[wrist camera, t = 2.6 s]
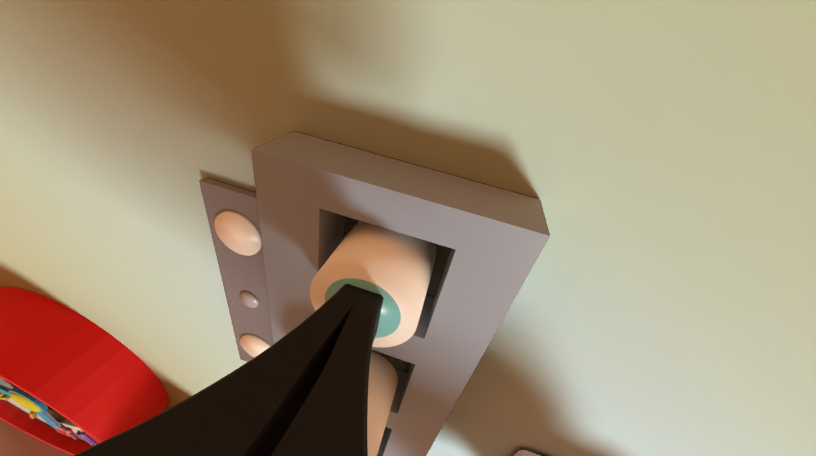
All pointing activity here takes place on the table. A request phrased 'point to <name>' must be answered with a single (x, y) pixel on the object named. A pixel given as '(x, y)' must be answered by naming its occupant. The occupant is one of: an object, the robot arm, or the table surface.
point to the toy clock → (69, 375)
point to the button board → (412, 215)
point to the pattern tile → (240, 263)
